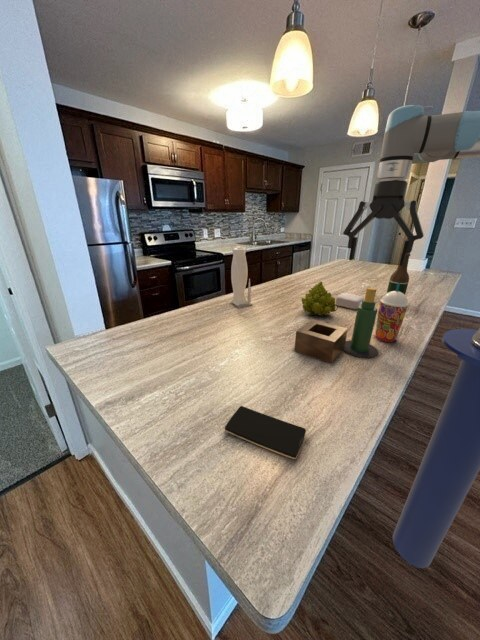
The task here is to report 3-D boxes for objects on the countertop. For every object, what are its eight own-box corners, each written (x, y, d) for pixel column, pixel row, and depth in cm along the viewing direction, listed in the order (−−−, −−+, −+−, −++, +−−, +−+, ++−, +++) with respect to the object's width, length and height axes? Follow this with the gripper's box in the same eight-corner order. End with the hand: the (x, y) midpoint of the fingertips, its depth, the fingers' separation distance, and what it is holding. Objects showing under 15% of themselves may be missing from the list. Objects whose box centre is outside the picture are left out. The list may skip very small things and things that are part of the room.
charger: (368, 313, 114) (335, 305, 123) (375, 308, 120) (343, 301, 130) (370, 303, 112) (336, 296, 121) (377, 298, 118) (344, 291, 128)
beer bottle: (406, 305, 125) (420, 254, 115) (392, 306, 123) (405, 254, 114) (394, 300, 132) (406, 251, 122) (380, 301, 130) (392, 251, 121)
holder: (344, 347, 85) (348, 328, 83) (331, 363, 77) (334, 342, 74) (309, 337, 92) (312, 319, 89) (294, 350, 83) (296, 330, 81)
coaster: (381, 348, 85) (381, 347, 85) (372, 362, 77) (373, 361, 77) (347, 338, 92) (347, 337, 92) (336, 350, 84) (336, 349, 84)
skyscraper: (236, 308, 119) (236, 244, 108) (227, 303, 125) (227, 242, 114) (251, 305, 123) (253, 243, 112) (242, 300, 129) (243, 241, 118)
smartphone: (239, 404, 58) (307, 428, 52) (239, 408, 59) (306, 433, 52) (223, 427, 52) (296, 457, 46) (223, 431, 52) (296, 462, 46)
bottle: (370, 347, 85) (383, 288, 77) (365, 354, 81) (379, 292, 73) (352, 342, 88) (364, 285, 80) (347, 348, 84) (359, 288, 76)
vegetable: (317, 295, 124) (327, 274, 112) (335, 321, 116) (348, 301, 104) (290, 304, 121) (297, 282, 108) (306, 331, 113) (316, 311, 101)
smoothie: (367, 337, 93) (379, 282, 85) (379, 331, 97) (392, 278, 90) (391, 346, 87) (406, 288, 79) (403, 339, 91) (418, 283, 83)
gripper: (339, 182, 73) (329, 259, 81) (450, 176, 59) (424, 269, 67) (347, 184, 79) (337, 256, 87) (450, 179, 65) (426, 265, 73)
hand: (375, 262), depth 77 cm, fingers open, 13 cm apart
